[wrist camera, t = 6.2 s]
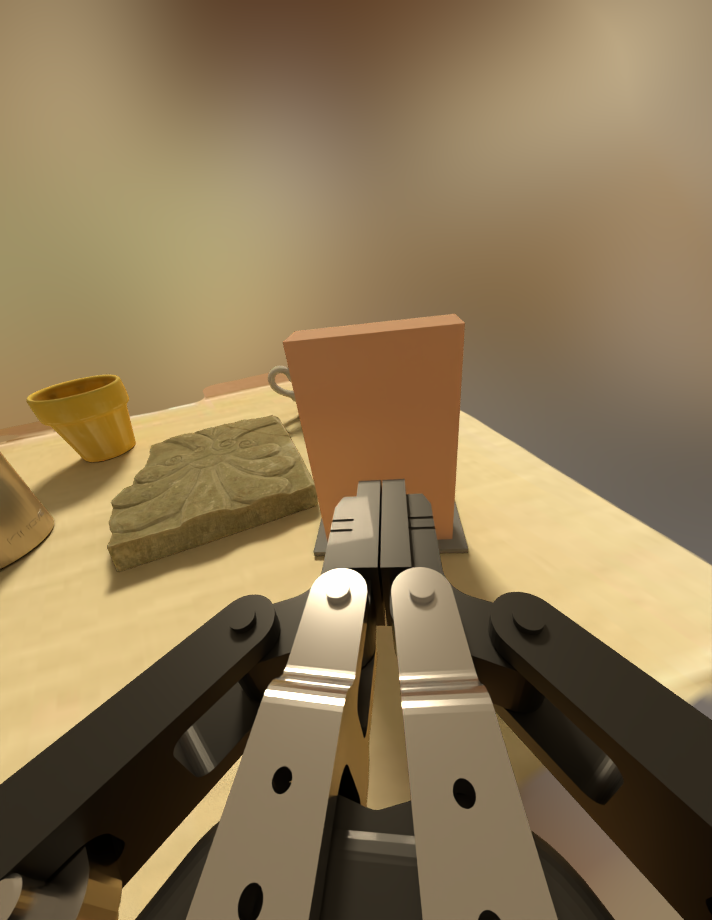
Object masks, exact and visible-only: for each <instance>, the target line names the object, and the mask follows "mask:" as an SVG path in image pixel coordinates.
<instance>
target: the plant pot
mask: <svg viewBox="0 0 712 920" xmlns="http://www.w3.org/2000/svg"><path fill="white" fill-rule="evenodd" d="M128 401H129V397H128V394H127V392H126V389H125V387H124V385H123V383H122V381H121V379H120V378H119V377H118V376H117V375H98V376H91V377H85V378H80V379H75V380H71V381H67V382H63V383H60V384H56V385H53V386H50V387H47V388H44V389H41V390H39V391H37V392H35V393H33V394H31V395H30V396H28V397H27V403H28V404H29V406H30V408H31V409H32V411H33V412H34V414H35V415H36V417H37V418H38V419H39V421H40V422H41V423H42V424H44V425H48V426H51V427H52V428H53V429H54V430H55V431H56V432H57V433H58V434H59V435H60V436H61V437H62V438H63V439H64V440H65V441H66V442H67V443H68V444H69V445H70V446H71V447H72V448H73V449H74V450H75V451H76V452H77V453H78V454H79V455H80V456H81V457H82V458H83V459H84V460H85V461H88V462H99V461H104V460H108V459H111V458H114V457H117V456H119V455H122V454H124V453H125V452H127V451H129V450H130V449H132V448H133V447H134V445H135V443H136V441H135V437H134V433H133V429H132V425H131V421H130V417H129V413H128V408H127V402H128Z"/></svg>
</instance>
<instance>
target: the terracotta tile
mask: <svg viewBox="0 0 712 920" xmlns="http://www.w3.org/2000/svg"><path fill="white" fill-rule="evenodd" d="M464 330H465V323H464V322H463V321H462V320H461V319H459V317H458V316H456V315H455V314H449V315H440V316H432V317H421V318H412V319H404V320H394V321H384V322H375V323H366V324H357V325H348V326H338V327H329V328H320V329H311V330H302V331H295V332H294V333H292V334H291V335H290V336H289V337H288V338H287V339H286V340H284V342H283V345H284V350H285V355H286V359H287V363H288V368H289V372H290V377H291V381H292V386H293V390H294V395H295V399H296V404H297V408H298V413H299V417H300V422H301V426H302V430H303V435H304V439H305V444H306V448H307V453H308V457H309V462H310V466H311V471H312V475H313V480H314V484H315V489H316V493H317V497H318V502H319V506H320V511H321V515H322V520H323V524H324V529H325V533H326V538H327V542H328V539H329V534H330V532H331V525H332V522H333V515H334V511H335V507H336V506H337V505H338V503H339V502H340V501H341V500H342V498H343V497H353V496H357V489H358V482H359V481H367V480H381V483H382V480H388V479H405V489H406V494H421V493H422V494H423V495H424V496H425V497H426V498H427V500H428V501H429V502H430V503H431V507H432V513H433V519H434V524H435V530H436V536H437V540H441V539H452V535H453V518H454V501H455V484H456V467H457V449H458V432H459V415H460V398H461V381H462V364H463V346H464Z"/></svg>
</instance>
